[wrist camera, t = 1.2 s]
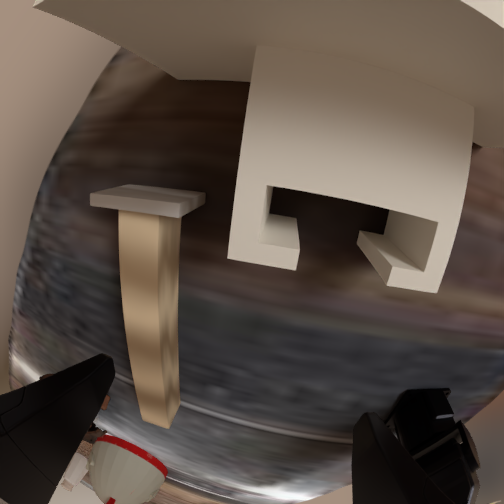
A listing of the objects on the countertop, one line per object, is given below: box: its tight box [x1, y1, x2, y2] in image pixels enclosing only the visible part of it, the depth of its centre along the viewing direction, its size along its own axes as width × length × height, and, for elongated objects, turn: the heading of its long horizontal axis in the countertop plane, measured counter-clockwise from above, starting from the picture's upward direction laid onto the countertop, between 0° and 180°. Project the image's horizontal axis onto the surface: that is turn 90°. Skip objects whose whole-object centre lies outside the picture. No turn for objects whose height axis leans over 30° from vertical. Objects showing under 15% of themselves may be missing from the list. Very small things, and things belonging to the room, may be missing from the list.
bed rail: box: [90, 184, 206, 429], centre depth 21 cm, size 23×6×5 cm, turn 172°
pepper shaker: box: [61, 452, 88, 491], centre depth 37 cm, size 5×5×11 cm
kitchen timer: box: [86, 435, 168, 504], centre depth 29 cm, size 14×14×15 cm
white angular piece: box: [33, 0, 504, 293], centre depth 11 cm, size 12×24×14 cm, turn 82°
